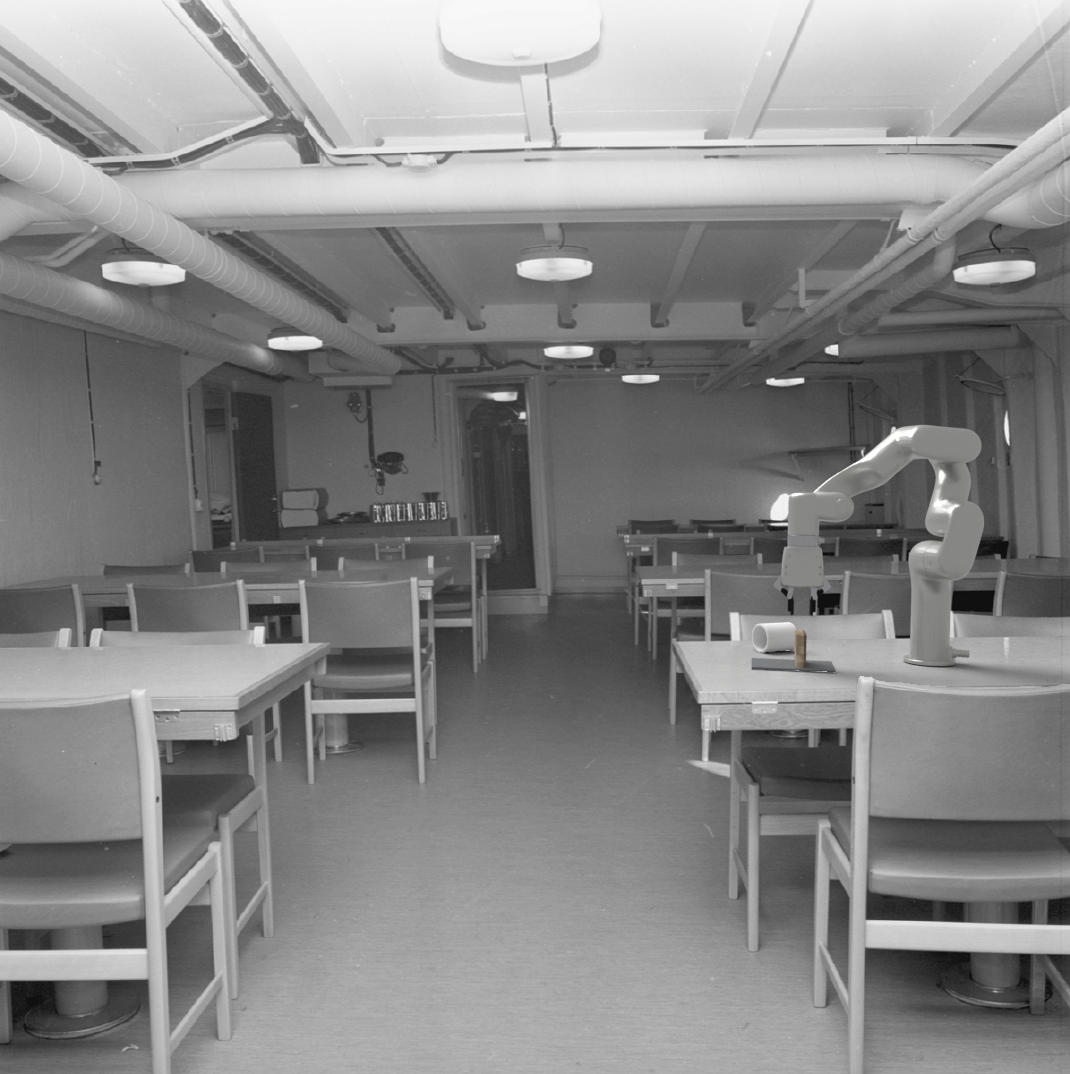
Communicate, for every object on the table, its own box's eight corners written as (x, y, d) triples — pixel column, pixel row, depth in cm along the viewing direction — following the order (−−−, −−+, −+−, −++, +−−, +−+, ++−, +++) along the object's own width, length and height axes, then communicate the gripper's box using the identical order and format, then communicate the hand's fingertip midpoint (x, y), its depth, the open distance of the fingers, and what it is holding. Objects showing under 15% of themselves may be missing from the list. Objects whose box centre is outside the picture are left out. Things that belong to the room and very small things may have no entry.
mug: (798, 653, 272) (799, 624, 272) (768, 655, 269) (768, 625, 268) (771, 646, 284) (772, 618, 283) (742, 648, 280) (742, 620, 279)
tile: (804, 661, 254) (804, 630, 254) (805, 667, 245) (806, 635, 245) (794, 661, 255) (794, 630, 254) (795, 667, 246) (796, 635, 246)
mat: (831, 663, 255) (831, 661, 255) (835, 673, 242) (836, 670, 242) (751, 660, 260) (751, 657, 259) (751, 669, 246) (751, 666, 246)
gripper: (836, 541, 251) (835, 614, 251) (768, 540, 254) (767, 612, 255) (839, 543, 243) (837, 617, 244) (768, 542, 247) (767, 615, 248)
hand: (801, 614), depth 250 cm, fingers open, 4 cm apart
